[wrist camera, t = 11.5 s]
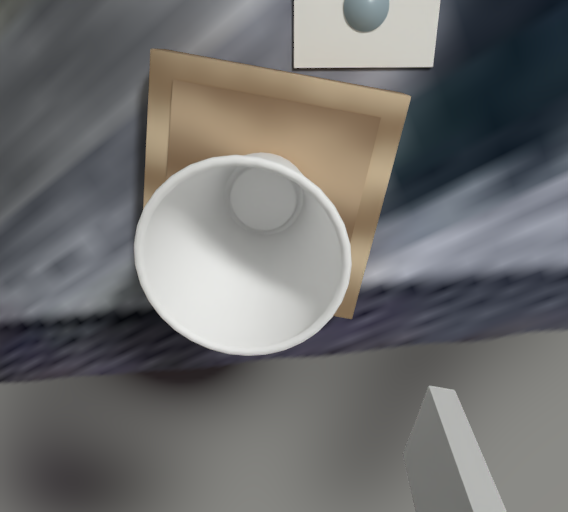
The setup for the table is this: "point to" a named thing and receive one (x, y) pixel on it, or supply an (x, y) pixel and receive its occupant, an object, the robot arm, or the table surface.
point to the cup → (243, 254)
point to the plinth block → (278, 134)
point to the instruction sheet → (365, 33)
